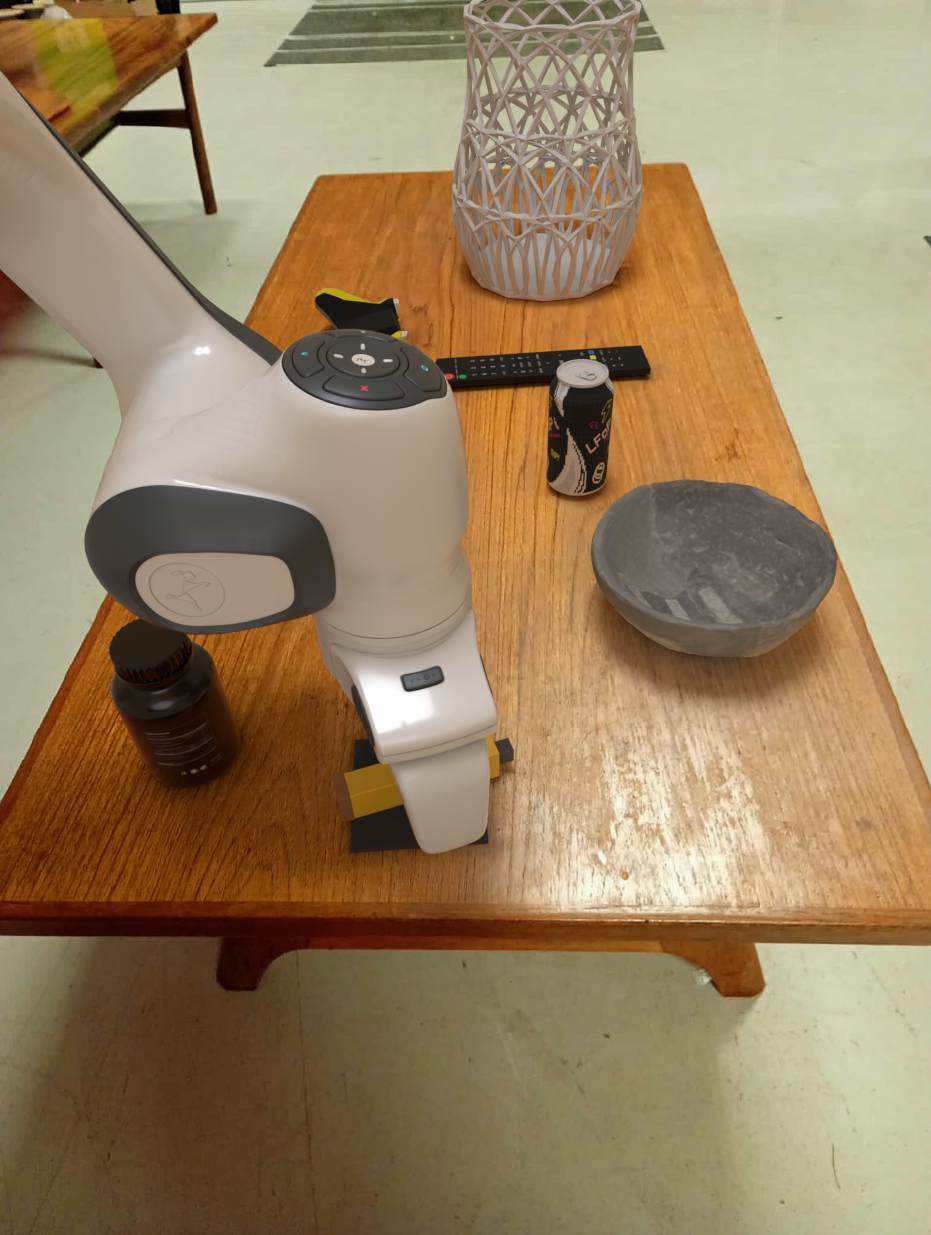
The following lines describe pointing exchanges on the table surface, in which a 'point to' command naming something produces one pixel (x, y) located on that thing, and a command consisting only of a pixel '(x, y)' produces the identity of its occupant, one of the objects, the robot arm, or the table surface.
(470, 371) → the remote control
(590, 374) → the beverage can
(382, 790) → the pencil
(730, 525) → the bowl
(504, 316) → the table surface
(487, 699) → the robot arm
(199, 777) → the supplement bottle
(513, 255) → the vase
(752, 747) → the table surface
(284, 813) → the table surface
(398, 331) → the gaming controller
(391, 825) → the mat
